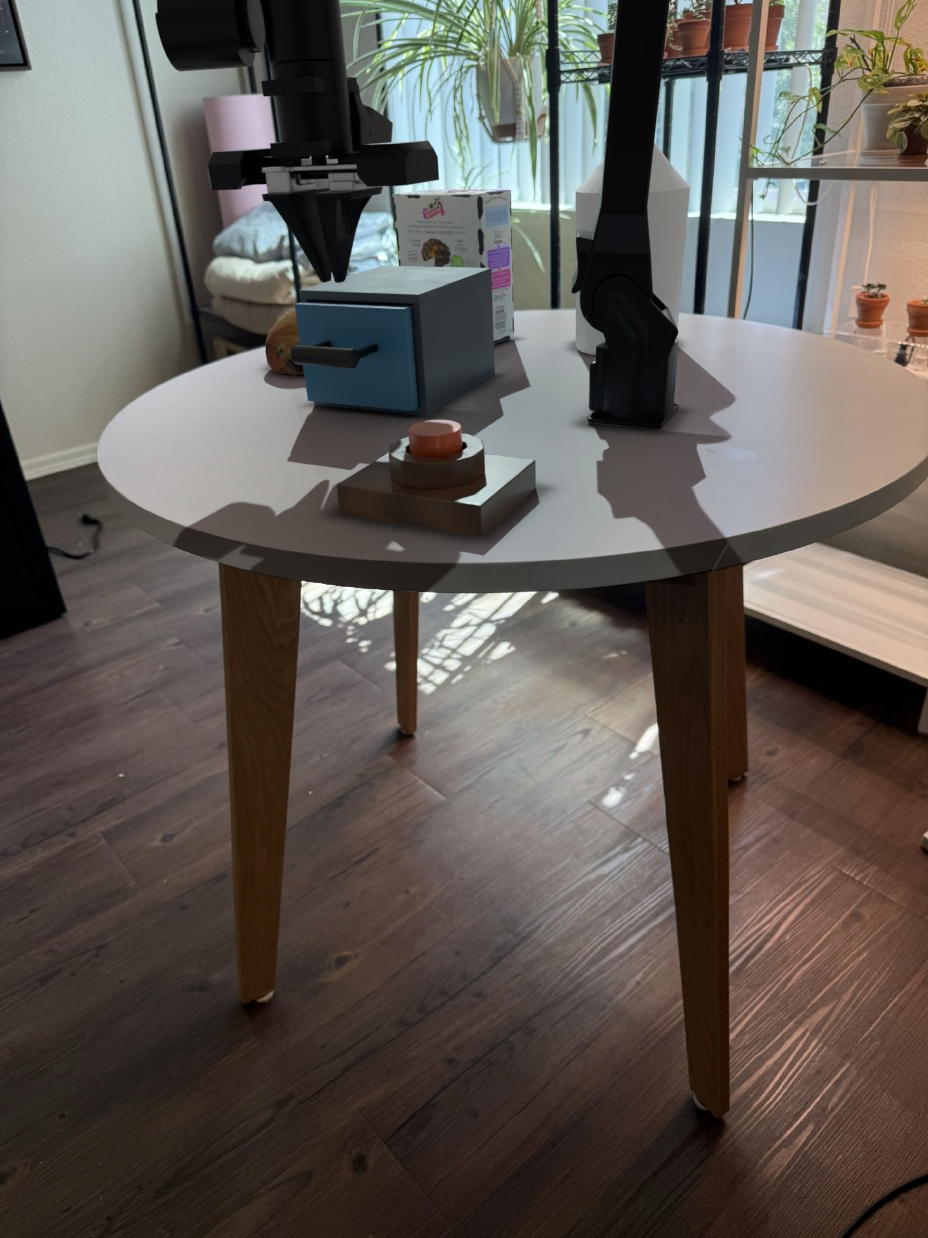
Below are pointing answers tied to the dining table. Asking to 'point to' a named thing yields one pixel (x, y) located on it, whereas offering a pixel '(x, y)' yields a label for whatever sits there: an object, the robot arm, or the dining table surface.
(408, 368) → the blue drawer
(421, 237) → the candy box
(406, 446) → the control block
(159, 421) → the dining table surface
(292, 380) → the dining table surface
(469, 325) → the drawer cabinet
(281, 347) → the bread roll
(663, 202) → the bottle
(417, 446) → the button
